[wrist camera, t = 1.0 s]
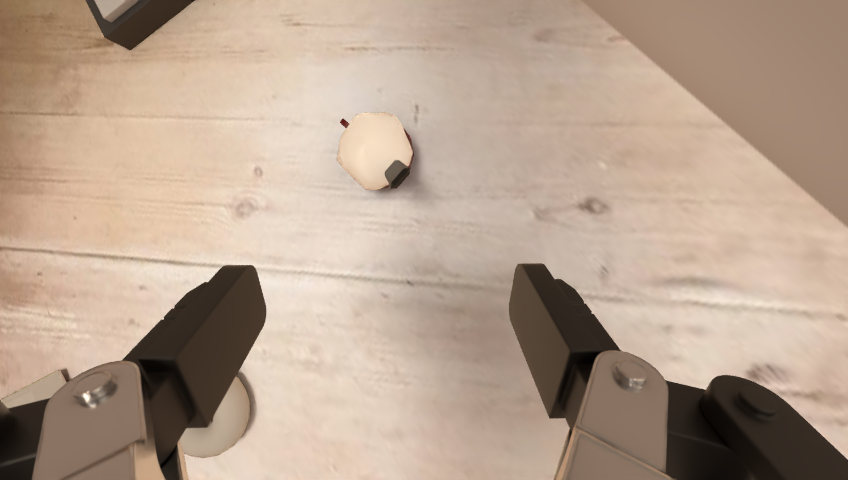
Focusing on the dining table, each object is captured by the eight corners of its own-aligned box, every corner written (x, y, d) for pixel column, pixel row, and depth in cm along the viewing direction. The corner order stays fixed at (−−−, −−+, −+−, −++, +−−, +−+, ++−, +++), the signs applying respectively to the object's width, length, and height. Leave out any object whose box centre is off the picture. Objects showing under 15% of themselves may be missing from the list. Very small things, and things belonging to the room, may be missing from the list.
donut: (166, 411, 38) (233, 461, 37) (135, 429, 35) (208, 485, 33) (200, 339, 37) (271, 389, 36) (171, 351, 33) (249, 406, 32)
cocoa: (342, 135, 33) (267, 87, 21) (397, 104, 32) (351, 35, 20) (382, 221, 33) (330, 220, 21) (439, 193, 32) (418, 176, 20)
